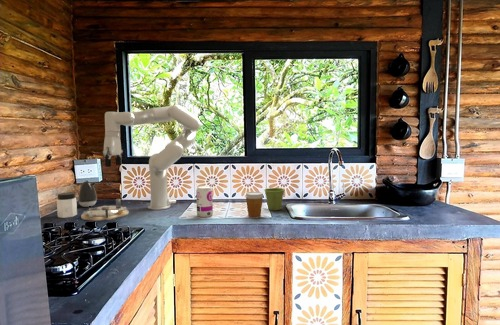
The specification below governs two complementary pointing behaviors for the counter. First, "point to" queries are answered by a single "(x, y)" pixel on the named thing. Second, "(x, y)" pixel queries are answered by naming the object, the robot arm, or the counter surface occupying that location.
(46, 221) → the counter surface
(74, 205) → the jar
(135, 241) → the counter surface
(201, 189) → the supplement can
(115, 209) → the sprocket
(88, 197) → the gray teardrop vessel
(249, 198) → the disposable coffee cup
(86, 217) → the sprocket base
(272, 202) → the plant pot
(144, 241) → the counter surface
